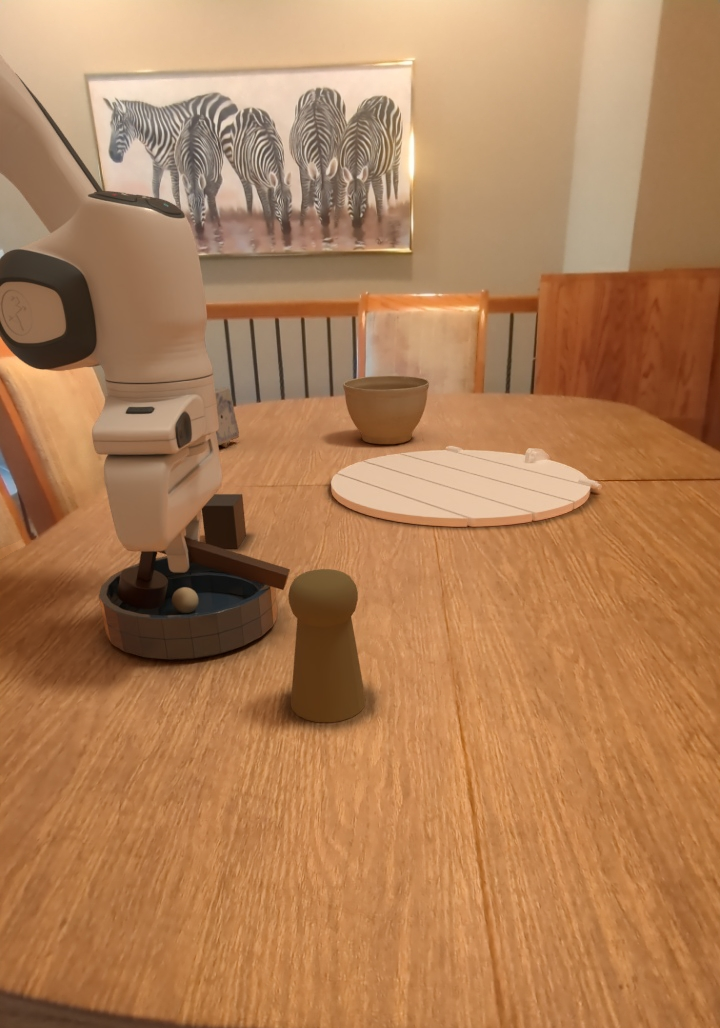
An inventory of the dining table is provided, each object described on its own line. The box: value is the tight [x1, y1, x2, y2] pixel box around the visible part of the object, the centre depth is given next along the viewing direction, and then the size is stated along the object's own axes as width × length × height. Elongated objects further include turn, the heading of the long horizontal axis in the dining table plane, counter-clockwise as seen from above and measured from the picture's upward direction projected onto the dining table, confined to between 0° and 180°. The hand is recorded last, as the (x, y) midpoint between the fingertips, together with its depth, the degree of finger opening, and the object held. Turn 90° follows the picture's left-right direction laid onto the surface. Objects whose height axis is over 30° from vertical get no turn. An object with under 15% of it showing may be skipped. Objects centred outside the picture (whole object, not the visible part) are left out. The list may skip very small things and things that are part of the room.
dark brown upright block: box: [201, 493, 247, 550], centre depth 95 cm, size 4×5×6 cm
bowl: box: [98, 555, 279, 661], centre depth 73 cm, size 16×16×4 cm
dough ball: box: [172, 587, 199, 613], centre depth 75 cm, size 3×3×3 cm
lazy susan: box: [330, 445, 603, 528], centre depth 116 cm, size 40×39×3 cm
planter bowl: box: [342, 375, 430, 445], centre depth 144 cm, size 16×16×11 cm
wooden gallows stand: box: [117, 537, 291, 609], centre depth 71 cm, size 15×4×7 cm, turn 86°
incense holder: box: [215, 386, 240, 448], centre depth 143 cm, size 10×8×10 cm
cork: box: [287, 568, 366, 724], centre depth 58 cm, size 6×6×11 cm
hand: (185, 563), depth 70 cm, fingers closed on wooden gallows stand, 2 cm apart
